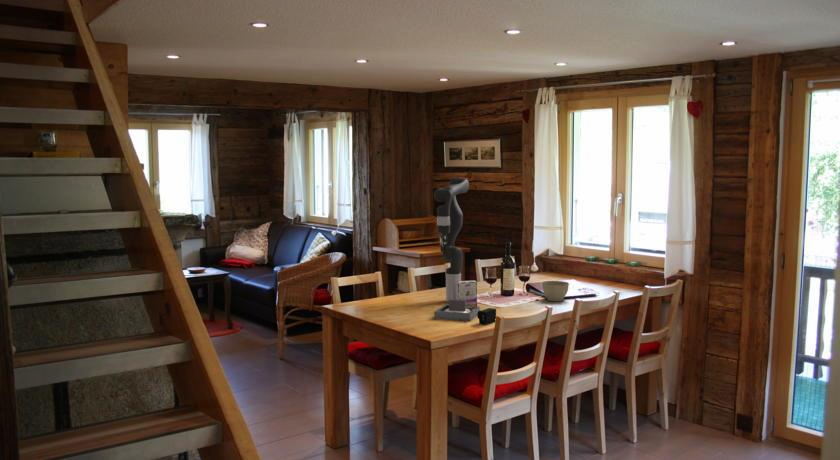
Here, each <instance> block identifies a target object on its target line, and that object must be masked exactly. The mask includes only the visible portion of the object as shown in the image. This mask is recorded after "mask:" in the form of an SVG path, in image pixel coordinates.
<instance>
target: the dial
mask: <svg viewBox="0 0 840 460" xmlns="http://www.w3.org/2000/svg"><path fill="white" fill-rule="evenodd" d="M448 305H449V309H446V310H445V312H458V313H469V312H470V310H469V309H466V300H457V299H449V302H448Z"/></svg>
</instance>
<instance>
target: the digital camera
mask: <svg viewBox="0 0 840 460" xmlns="http://www.w3.org/2000/svg"><path fill="white" fill-rule="evenodd" d="M476 317H477V319H478V324H479V325H483V326H488V325H491V324H493V322H494V323H496V322H495V319H496V320H497V309H496V308H492V307H491V308H490V307H489V308H486V309H482V310H481V309H480V310H479V311H478V314H477V316H476Z"/></svg>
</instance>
